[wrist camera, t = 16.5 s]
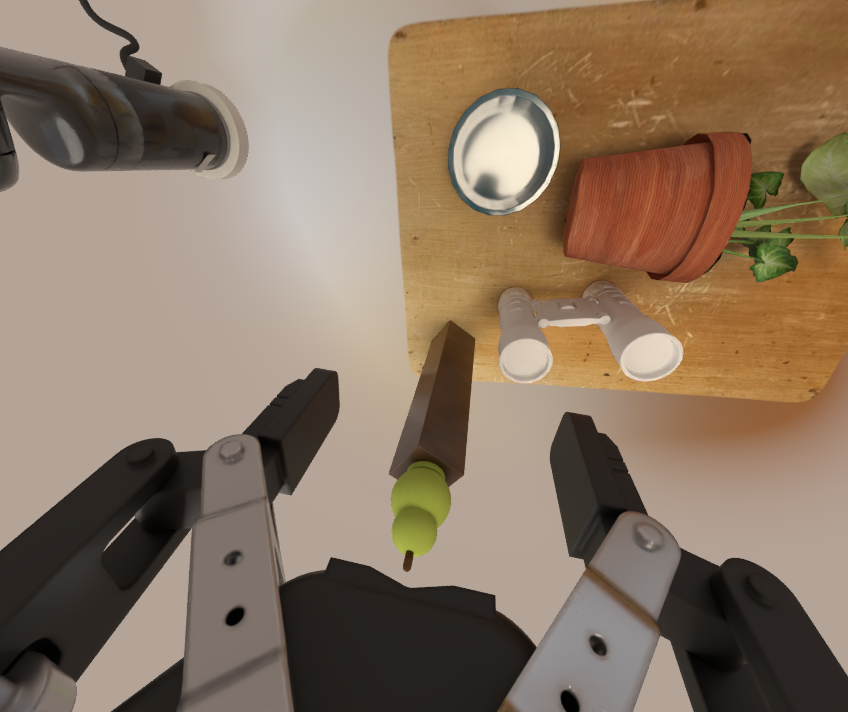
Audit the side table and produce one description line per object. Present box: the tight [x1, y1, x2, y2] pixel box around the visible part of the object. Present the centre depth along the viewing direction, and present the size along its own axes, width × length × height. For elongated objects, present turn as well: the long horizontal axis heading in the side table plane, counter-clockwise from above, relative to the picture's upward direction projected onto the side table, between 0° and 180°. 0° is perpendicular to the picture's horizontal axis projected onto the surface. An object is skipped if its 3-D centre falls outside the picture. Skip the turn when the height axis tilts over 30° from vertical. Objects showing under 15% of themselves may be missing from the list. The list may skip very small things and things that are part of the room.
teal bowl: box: [448, 88, 561, 215], centre depth 39 cm, size 12×12×7 cm
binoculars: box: [498, 281, 683, 383], centre depth 42 cm, size 17×5×18 cm, turn 98°
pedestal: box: [389, 321, 475, 487], centre depth 43 cm, size 5×5×28 cm
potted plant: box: [563, 132, 848, 283], centre depth 35 cm, size 16×15×35 cm
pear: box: [391, 461, 451, 572], centre depth 28 cm, size 5×5×9 cm
